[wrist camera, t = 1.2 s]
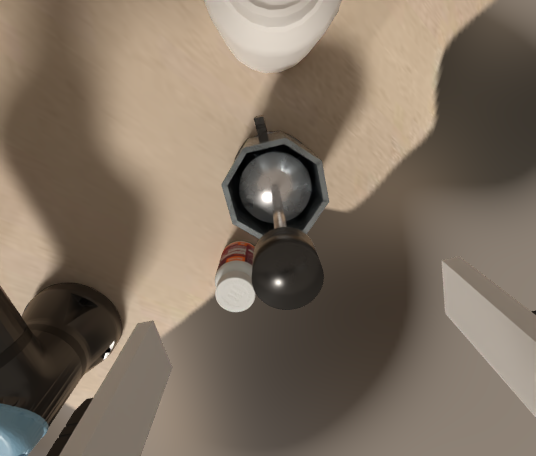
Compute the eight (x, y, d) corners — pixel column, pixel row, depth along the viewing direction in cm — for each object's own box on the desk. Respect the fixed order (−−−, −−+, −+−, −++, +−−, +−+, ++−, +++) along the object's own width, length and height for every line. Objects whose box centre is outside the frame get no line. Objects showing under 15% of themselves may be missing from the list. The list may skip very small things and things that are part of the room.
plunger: (249, 227, 42) (234, 353, 21) (231, 161, 39) (192, 225, 18) (316, 212, 42) (372, 325, 20) (302, 143, 39) (351, 189, 17)
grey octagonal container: (244, 218, 52) (238, 251, 40) (219, 125, 47) (204, 131, 35) (319, 201, 51) (336, 229, 39) (300, 104, 46) (313, 103, 35)
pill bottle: (245, 232, 53) (240, 264, 42) (267, 262, 54) (268, 300, 44) (213, 253, 54) (201, 289, 43) (236, 281, 55) (230, 323, 45)
